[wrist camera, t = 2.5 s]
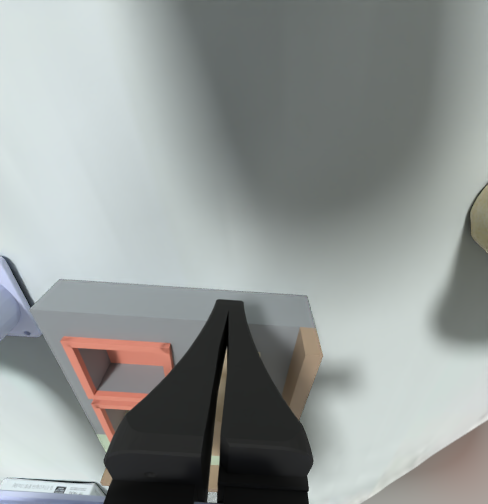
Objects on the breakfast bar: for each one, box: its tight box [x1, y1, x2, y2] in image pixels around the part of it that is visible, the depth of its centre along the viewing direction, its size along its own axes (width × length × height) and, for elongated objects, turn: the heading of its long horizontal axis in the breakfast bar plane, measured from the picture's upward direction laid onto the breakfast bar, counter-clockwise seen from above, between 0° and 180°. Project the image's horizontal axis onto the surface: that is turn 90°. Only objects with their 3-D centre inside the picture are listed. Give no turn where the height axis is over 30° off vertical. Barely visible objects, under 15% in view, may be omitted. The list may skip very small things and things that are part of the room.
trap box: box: [29, 279, 323, 492], centre depth 23 cm, size 18×24×5 cm
